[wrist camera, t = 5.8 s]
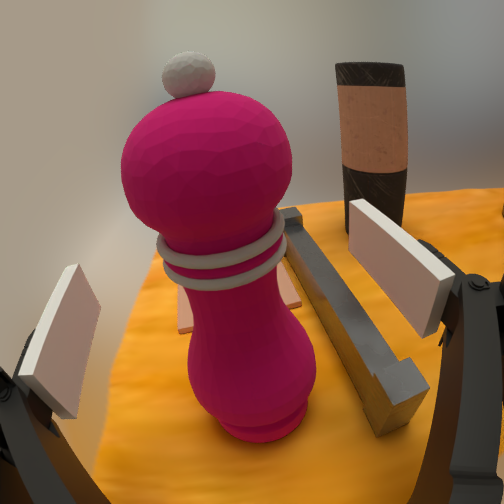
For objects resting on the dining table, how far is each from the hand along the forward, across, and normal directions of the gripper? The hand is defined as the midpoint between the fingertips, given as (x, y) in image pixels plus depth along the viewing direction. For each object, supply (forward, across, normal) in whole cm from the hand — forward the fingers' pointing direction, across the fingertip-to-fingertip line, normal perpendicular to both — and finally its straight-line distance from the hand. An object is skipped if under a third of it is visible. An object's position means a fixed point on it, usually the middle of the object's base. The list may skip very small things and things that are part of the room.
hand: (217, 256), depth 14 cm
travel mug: (+17, +19, -12) cm, 28 cm away
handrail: (+6, +8, -11) cm, 15 cm away
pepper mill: (-1, 0, -12) cm, 12 cm away
